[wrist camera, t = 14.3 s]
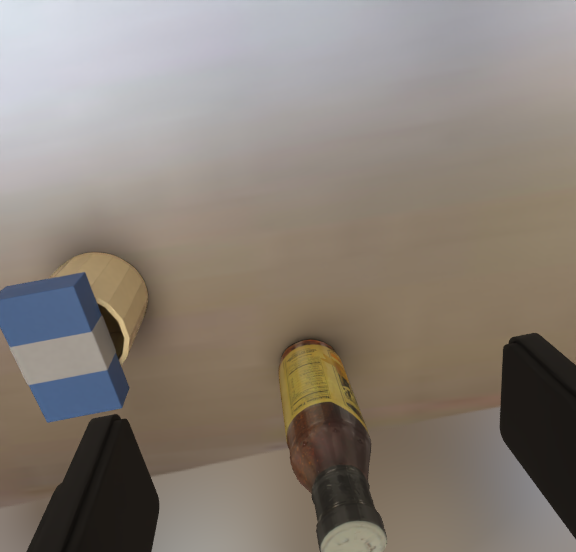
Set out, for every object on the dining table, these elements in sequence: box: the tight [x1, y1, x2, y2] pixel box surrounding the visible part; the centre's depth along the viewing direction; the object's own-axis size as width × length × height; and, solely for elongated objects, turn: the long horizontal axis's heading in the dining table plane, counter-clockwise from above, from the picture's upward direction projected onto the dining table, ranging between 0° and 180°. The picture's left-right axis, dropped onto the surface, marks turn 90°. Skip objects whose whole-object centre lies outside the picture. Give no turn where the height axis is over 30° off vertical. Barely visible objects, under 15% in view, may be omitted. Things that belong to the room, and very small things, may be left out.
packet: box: [0, 272, 129, 422], centre depth 31 cm, size 10×6×2 cm, turn 9°
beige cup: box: [48, 252, 148, 365], centre depth 36 cm, size 8×8×8 cm
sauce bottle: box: [279, 340, 387, 552], centre depth 35 cm, size 7×6×20 cm
